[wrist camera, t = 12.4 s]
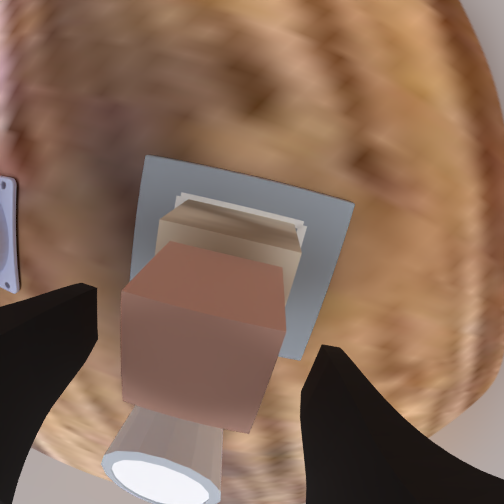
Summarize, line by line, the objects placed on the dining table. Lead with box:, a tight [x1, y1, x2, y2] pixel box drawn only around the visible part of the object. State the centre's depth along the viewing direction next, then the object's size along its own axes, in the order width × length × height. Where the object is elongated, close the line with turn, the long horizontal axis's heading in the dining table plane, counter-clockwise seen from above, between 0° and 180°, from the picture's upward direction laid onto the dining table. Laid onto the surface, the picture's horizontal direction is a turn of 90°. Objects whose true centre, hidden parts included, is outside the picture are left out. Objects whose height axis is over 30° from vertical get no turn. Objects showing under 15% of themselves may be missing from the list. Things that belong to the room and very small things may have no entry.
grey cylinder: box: [101, 405, 223, 504], centre depth 16 cm, size 7×7×7 cm
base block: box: [155, 199, 302, 306], centre depth 13 cm, size 5×5×4 cm
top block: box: [121, 241, 286, 434], centre depth 10 cm, size 4×4×4 cm
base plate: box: [130, 155, 355, 360], centre depth 16 cm, size 10×9×1 cm
